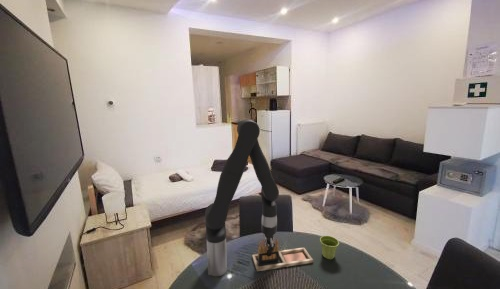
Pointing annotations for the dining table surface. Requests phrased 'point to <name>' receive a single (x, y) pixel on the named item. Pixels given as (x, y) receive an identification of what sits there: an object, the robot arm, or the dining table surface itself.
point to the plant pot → (329, 246)
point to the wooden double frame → (286, 259)
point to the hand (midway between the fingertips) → (268, 254)
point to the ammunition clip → (263, 253)
